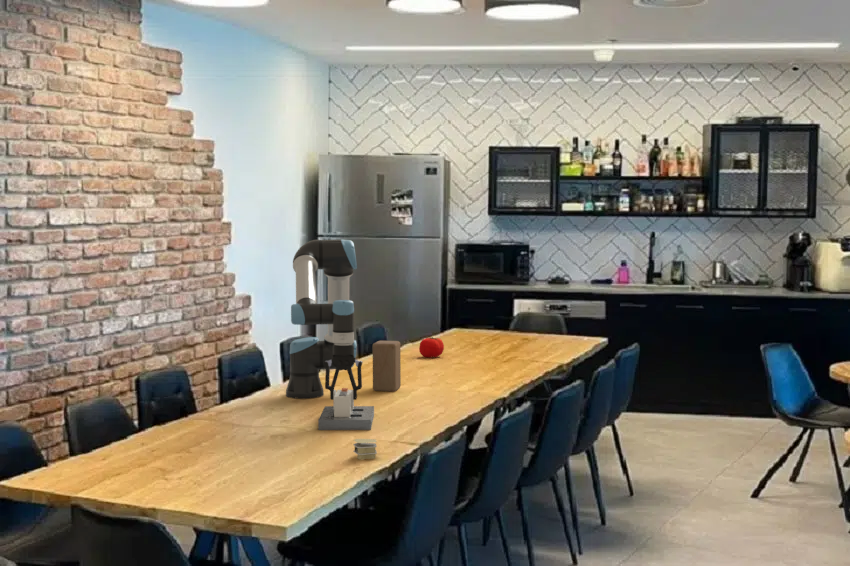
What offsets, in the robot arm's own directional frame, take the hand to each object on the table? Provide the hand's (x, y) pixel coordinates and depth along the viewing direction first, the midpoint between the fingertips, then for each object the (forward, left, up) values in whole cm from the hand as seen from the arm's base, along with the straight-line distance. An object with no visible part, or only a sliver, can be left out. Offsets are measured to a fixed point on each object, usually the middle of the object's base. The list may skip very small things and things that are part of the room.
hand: (343, 408), depth 370 cm
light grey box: (0, 0, -5) cm, 5 cm away
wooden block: (+13, +66, -5) cm, 67 cm away
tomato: (+32, +156, -5) cm, 159 cm away
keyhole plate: (+1, 0, -5) cm, 5 cm away
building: (+10, -50, -6) cm, 52 cm away
